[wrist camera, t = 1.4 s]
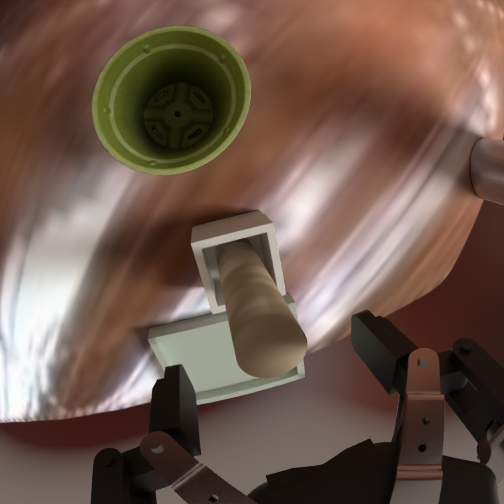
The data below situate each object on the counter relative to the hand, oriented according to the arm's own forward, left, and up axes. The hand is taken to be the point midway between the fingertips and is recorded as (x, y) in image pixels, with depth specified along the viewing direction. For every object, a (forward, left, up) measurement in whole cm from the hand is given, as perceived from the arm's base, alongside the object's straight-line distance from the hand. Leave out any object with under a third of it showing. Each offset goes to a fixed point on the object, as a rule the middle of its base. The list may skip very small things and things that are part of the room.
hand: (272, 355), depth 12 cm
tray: (+3, +12, -15) cm, 19 cm away
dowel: (0, 0, -14) cm, 14 cm away
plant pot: (+2, -13, -15) cm, 20 cm away
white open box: (0, 0, -15) cm, 15 cm away
